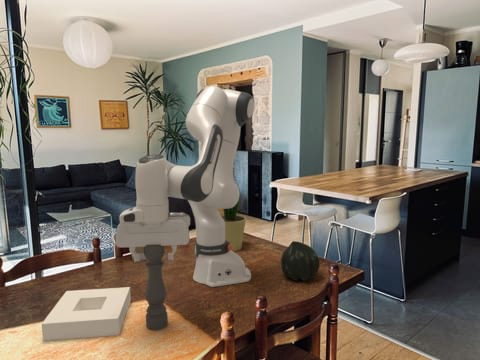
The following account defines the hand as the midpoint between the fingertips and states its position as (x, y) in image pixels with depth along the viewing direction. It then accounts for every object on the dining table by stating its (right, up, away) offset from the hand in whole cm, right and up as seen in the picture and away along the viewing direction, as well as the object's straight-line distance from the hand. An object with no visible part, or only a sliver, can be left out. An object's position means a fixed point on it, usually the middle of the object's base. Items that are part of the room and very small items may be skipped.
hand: (154, 260), depth 102 cm
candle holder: (0, -20, +3) cm, 20 cm away
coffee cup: (-20, -12, +57) cm, 62 cm away
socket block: (-20, -19, +6) cm, 29 cm away
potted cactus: (+20, -10, +71) cm, 74 cm away
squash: (+48, -15, +37) cm, 62 cm away
